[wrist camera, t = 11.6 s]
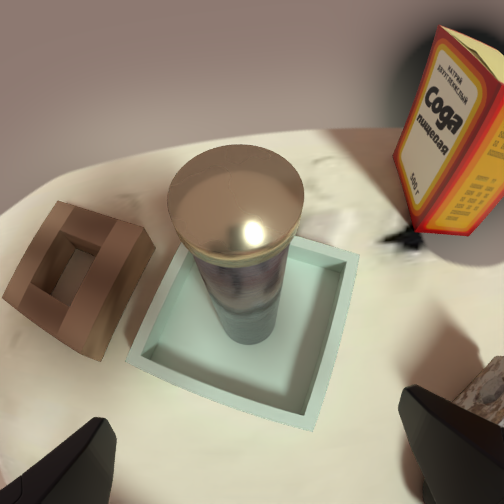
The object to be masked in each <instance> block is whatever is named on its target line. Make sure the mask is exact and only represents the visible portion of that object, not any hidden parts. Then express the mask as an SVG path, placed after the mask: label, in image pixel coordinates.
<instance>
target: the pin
mask: <svg viewBox="0 0 504 504" xmlns="http://www.w3.org/2000/svg"><path fill="white" fill-rule="evenodd" d="M303 203H304V187H303V184H302V180H301V178H300V176H299V174H298V172H297V171H296V169H295V168H294V167H293V166H292V165H291V164H290V163H289V162H288V161H287V160H286V159H285V158H283V157H282V156H280V155H279V154H277V153H275V152H273V151H270V150H268V149H265V148H262V147H258V146H252V145H242V144H240V145H226V146H221V147H217V148H213V149H210V150H208V151H205V152H203V153H201V154H199V155H197V156H196V157H194V158H193V159H191V160H190V161H188V162H187V163H186V164H185V165H184V166H183V167H182V168H181V169H180V170H179V171H178V173H177V174H176V175H175V177H174V179H173V180H172V182H171V185H170V188H169V191H168V197H167V205H168V211H169V214H170V217H171V220H172V222H173V224H174V227H175V229H176V232H177V234H178V236H179V238H180V240H181V242H182V243H183V244H184V246H185V247H186V248H187V249H188V250H189V251H190V252H191V253H192V254H193V257H194V259H195V262H196V264H197V267H198V269H199V272H200V274H201V277H202V279H203V281H204V284H205V286H206V289H207V291H208V293H209V296H210V298H211V300H212V303H213V305H214V308H215V310H216V312H217V314H218V317H219V319H220V321H221V324H222V326H223V328H224V330H225V332H226V334H227V335H228V336H229V337H230V338H231V339H232V340H233V341H235V342H237V343H240V344H243V345H254V344H258V343H260V342H262V341H264V340H265V339H267V338H268V337H269V336H270V334H271V333H272V331H273V329H274V327H275V323H276V318H277V312H278V307H279V302H280V296H281V291H282V285H283V280H284V274H285V268H286V263H287V257H288V251H289V245H290V242H291V241H292V239H293V238H294V236H295V234H296V232H297V230H298V227H299V223H300V218H301V213H302V208H303Z"/></svg>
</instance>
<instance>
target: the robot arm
mask: <svg viewBox="0 0 504 504" xmlns="http://www.w3.org/2000/svg"><path fill="white" fill-rule="evenodd" d="M398 411H399V415H400V417H401V420H402V423H403V426H404V429H405V432H406V435H407V438H408V441H409V444H410V446H411V449H412V452H413V454H414V456H415V458H416V460H417V462H418V464H419V467H420V469H421V471H422V473H423V475H424V477H425V480H426V482H427V484H428V486H429V488H430V491H431V493H432V495H433V497H434V500H435V502H436V504H504V427H501V426H500V425H498V424H495V423H493V422H491V421H489V420H487V419H485V418H483V417H481V416H479V415H476V414H474V413H472V412H470V411H468V410H466V409H464V408H462V407H460V406H458V405H456V404H454V403H452V402H450V401H448V400H446V399H444V398H442V397H440V396H438V395H436V394H434V393H432V392H430V391H428V390H426V389H424V388H422V387H420V386H418V385H411V386H408V387H405V388H404V389H403V391H402V394H401V398H400V402H399V405H398ZM116 443H117V438H116V435H115V433H114V431H113V429H112V427H111V425H110V424H109V422H108V420H107V419H106V418H100V417H94V418H92V419H91V420H90V421H88V422H87V423H86V424H85V425H83V426H82V427H81V428H80V429H78V430H77V431H76V432H75V433H74V434H72V435H71V436H70V437H69V438H67V439H66V440H65V441H64V442H62V443H61V444H60V445H59V446H57V447H56V448H55V449H54V450H52V451H51V452H50V453H49V454H47V455H46V456H45V457H44V458H42V459H41V460H40V461H38V462H37V463H36V464H35V465H33V466H32V467H31V468H30V469H28V470H27V471H26V472H24V473H23V474H22V476H19V477H18V478H17V479H15V480H14V481H13V482H11V483H10V484H8V485H7V486H6V487H4V488H3V489H1V490H0V504H108V502H109V497H110V492H111V487H112V481H113V473H114V462H115V452H116Z"/></svg>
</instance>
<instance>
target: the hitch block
mask: <svg viewBox="0 0 504 504" xmlns="http://www.w3.org/2000/svg"><path fill="white" fill-rule="evenodd" d="M76 248H77V249H79V250H81V251H84V252H86V253H89V254H91V255H93V256H96V257H95V259H94V261H93V263H92V265H91V266H90V268H89V270H88V272H87V274H86V276H85V278H84V280H83V281H82V283H81V285H80V287H79V289H78V291H77V293H76V295H75V297H74V299H73V301H72V303H71V305H70V307H69V306H68V305H66V304H64V303H63V302H61V301H59V300H57V299H56V298H54V297H52V296H51V293H52V291H53V289H54V287H55V285H56V283H57V282H58V280H59V278H60V276H61V274H62V272H63V270H64V268H65V267H66V265H67V263H68V261H69V259H70V258H71V256H72V254H73V252H74V251H75V249H76ZM154 250H155V246H154V244H153V243H152V241H151V239H150V237H149V236H148V234H147V232H146V230H145V228H144V227H141V226H138V225H134V224H131V223H128V222H125V221H121V220H118V219H115V218H112V217H109V216H105V215H102V214H99V213H96V212H93V211H90V210H86V209H83V208H80V207H77V206H74V205H71V204H67V203H64V202H61V201H57V203H56V204H55V206H54V207H53V209H52V210H51V212H50V213H49V215H48V216H47V218H46V219H45V221H44V222H43V224H42V225H41V227H40V229H39V230H38V232H37V234H36V235H35V237H34V238H33V240H32V242H31V244H30V245H29V247H28V249H27V250H26V252H25V254H24V256H23V258H22V259H21V261H20V263H19V265H18V267H17V269H16V270H15V272H14V274H13V276H12V278H11V280H10V282H9V284H8V286H7V288H6V290H5V292H4V294H3V297H2V298H3V299H4V300H5V301H6V302H8V303H9V304H10V305H11V306H13V307H14V308H15V309H16V310H18V311H19V312H20V313H22V314H23V315H24V316H26V317H27V318H28V319H30V320H31V321H32V322H34V323H35V324H36V325H38V326H39V327H41V328H42V329H43V330H45V331H46V332H48V333H49V334H51V335H52V336H53V337H55V338H56V339H58V340H59V341H61V342H62V343H64V344H66V345H67V346H69V347H70V348H72V349H73V350H75V351H76V352H78V353H80V354H82V355H84V356H87V357H89V358H92V359H94V360H97V361H100V362H101V360H102V358H103V356H104V353H105V351H106V349H107V346H108V344H109V342H110V340H111V337H112V335H113V333H114V331H115V329H116V326H117V324H118V322H119V320H120V318H121V316H122V314H123V311H124V309H125V307H126V305H127V303H128V301H129V299H130V297H131V295H132V293H133V291H134V289H135V287H136V285H137V283H138V281H139V279H140V277H141V275H142V273H143V271H144V269H145V267H146V265H147V263H148V261H149V259H150V257H151V256H152V254H153V252H154Z"/></svg>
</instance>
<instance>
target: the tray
mask: <svg viewBox="0 0 504 504" xmlns="http://www.w3.org/2000/svg"><path fill="white" fill-rule="evenodd" d="M359 256H360V255H359V254H356V253H352V252H349V251H346V250H342V249H339V248H336V247H332V246H329V245H326V244H322V243H319V242H315V241H312V240H309V239H305V238H302V237H298V236H294V238H293V239H292V241H291V242H290V245H289V251H288V257H287V263H286V268H285V274H284V280H283V285H282V291H281V296H280V302H279V307H278V312H277V318H276V323H275V327H274V329H273V331H272V333H271V334H270V336H269V337H268V338H267V339H265V340H264V341H262V342H260V343H258V344H254V345H243V344H240V343H237V342H235V341H233V340H232V339H231V338H230V337H229V336H228V335H227V334H226V332H225V330H224V328H223V326H222V324H221V321H220V319H219V317H218V314H217V312H216V310H215V308H214V305H213V303H212V300H211V298H210V296H209V293H208V291H207V289H206V286H205V284H204V281H203V279H202V277H201V274H200V272H199V269H198V267H197V264H196V262H195V259H194V257H193V254H192V253H191V252H190V251H189V250H188V249H187V248H186V247H185V246H184V244H183V243H182V242H181V244H180V246H179V247H178V249H177V251H176V253H175V255H174V257H173V259H172V261H171V263H170V265H169V267H168V269H167V271H166V273H165V275H164V277H163V280H162V282H161V284H160V286H159V288H158V290H157V292H156V294H155V296H154V298H153V300H152V302H151V305H150V307H149V309H148V311H147V313H146V315H145V318H144V320H143V322H142V324H141V326H140V329H139V331H138V333H137V335H136V337H135V340H134V342H133V344H132V347H131V349H130V351H129V353H128V356H127V358H126V360H125V362H127V363H129V364H131V365H133V366H135V367H137V368H139V369H141V370H143V371H145V372H147V373H149V374H151V375H153V376H155V377H158V378H160V379H162V380H164V381H166V382H169V383H171V384H173V385H175V386H178V387H180V388H182V389H185V390H187V391H190V392H192V393H194V394H197V395H199V396H202V397H204V398H207V399H210V400H212V401H215V402H217V403H220V404H223V405H226V406H228V407H231V408H234V409H237V410H240V411H243V412H246V413H249V414H252V415H255V416H258V417H261V418H264V419H268V420H271V421H274V422H278V423H281V424H285V425H288V426H292V427H296V428H299V429H303V430H307V431H311V432H313V430H314V427H315V424H316V421H317V418H318V416H319V413H320V409H321V406H322V403H323V400H324V397H325V394H326V391H327V387H328V384H329V381H330V377H331V374H332V371H333V367H334V364H335V360H336V356H337V353H338V349H339V345H340V341H341V338H342V334H343V330H344V326H345V322H346V317H347V313H348V309H349V305H350V300H351V296H352V291H353V286H354V282H355V277H356V272H357V267H358V262H359Z"/></svg>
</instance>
